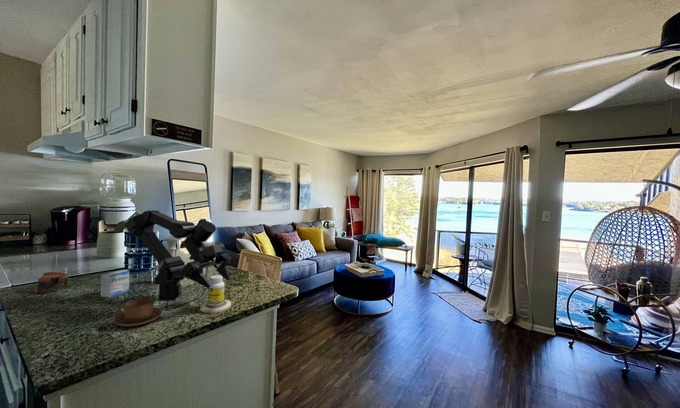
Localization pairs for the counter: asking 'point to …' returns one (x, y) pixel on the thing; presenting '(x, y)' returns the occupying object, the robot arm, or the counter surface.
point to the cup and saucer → (137, 312)
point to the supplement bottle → (216, 291)
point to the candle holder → (171, 244)
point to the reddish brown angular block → (51, 282)
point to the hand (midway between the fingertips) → (219, 283)
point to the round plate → (215, 307)
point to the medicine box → (114, 283)
